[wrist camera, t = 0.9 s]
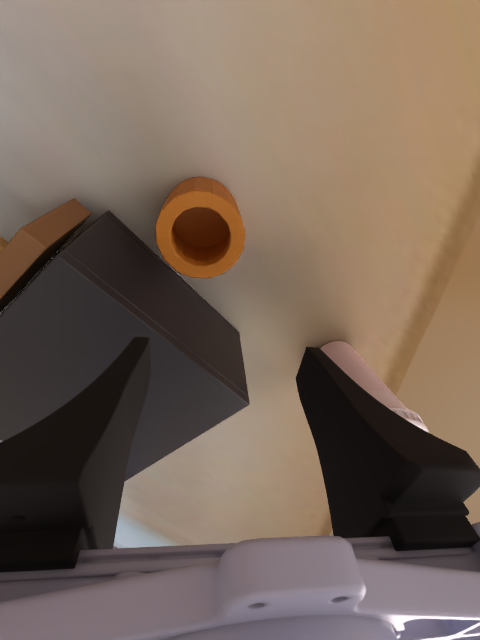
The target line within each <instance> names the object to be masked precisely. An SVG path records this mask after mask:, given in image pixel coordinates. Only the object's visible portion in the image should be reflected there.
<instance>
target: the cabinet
mask: <svg viewBox="0 0 480 640" xmlns="http://www.w3.org/2000/svg"><path fill="white" fill-rule="evenodd" d="M134 337H150V360H151V374H150V380H149V385H148V391H147V395H146V398H145V402H144V405H143V408H142V412H141V415H140V418H139V422H138V425H137V428H136V431H135V435H134V438H133V442H132V446H131V450H130V455H129V460H128V465H127V470H126V476H125V481H126V480H128V479H129V478H131V477H133V476H134V475H136V474H137V473H139V472H141V471H142V470H144V469H146V468H147V467H149V466H150V465H152V464H154V463H155V462H157V461H159V460H160V459H162V458H163V457H165V456H167V455H168V454H170V453H172V452H173V451H175V450H176V449H178V448H180V447H181V446H183V445H185V444H186V443H188V442H189V441H191V440H193V439H194V438H196V437H198V436H199V435H201V434H202V433H204V432H206V431H207V430H209V429H211V428H212V427H214V426H215V425H217V424H219V423H220V422H222V421H224V420H225V419H227V418H228V417H230V416H232V415H233V414H235V413H237V412H238V411H240V410H241V409H243V408H245V407H246V406H248V405H249V397H248V390H247V384H246V377H245V370H244V363H243V356H242V349H241V343H240V335H239V332H238V331H237V330H236V329H235V328H234V327H233V326H232V325H231V324H229V323H228V322H227V321H226V320H225V319H224V318H223V317H222V316H221V315H220V314H219V313H218V312H217V311H216V310H215V309H213V308H212V307H211V306H210V305H209V304H208V303H207V302H206V301H205V300H204V299H203V298H202V297H201V296H200V295H199V294H197V293H196V292H195V291H194V290H193V289H192V288H191V287H190V286H189V285H188V284H187V283H186V282H185V281H184V280H183V279H181V278H180V277H179V276H178V275H177V274H176V273H175V272H174V271H173V270H172V269H171V268H170V267H169V266H168V265H167V264H165V263H164V262H163V261H162V260H161V259H160V258H159V257H158V256H157V255H156V254H155V253H154V252H153V251H152V250H151V249H149V248H148V247H147V246H146V245H145V244H144V243H143V242H142V241H141V240H140V239H139V238H138V237H137V236H136V235H135V234H133V233H132V232H131V231H130V230H129V229H128V228H127V227H126V226H125V225H124V224H123V223H122V222H121V221H120V220H119V219H117V218H116V217H115V216H114V215H113V214H112V213H111V212H110V211H107V212H106V213H105V214H104V215H103V216H101V217H100V218H99V219H98V220H97V221H96V222H95V223H93V224H92V225H91V226H90V227H89V228H88V229H87V230H85V231H84V232H83V233H82V234H81V235H80V236H78V237H77V238H76V239H75V240H74V241H73V242H72V243H70V244H69V245H68V246H67V247H66V248H65V249H64V250H63V251H61V252H60V253H59V254H58V255H57V256H56V257H55V258H54V259H53V260H52V261H51V262H50V263H49V264H48V265H47V266H46V267H45V269H44V270H43V271H42V272H41V273H40V274H39V275H38V276H37V277H36V278H35V279H34V280H33V281H32V282H31V284H30V285H29V286H28V287H27V288H26V289H25V290H24V291H23V292H22V293H21V294H20V295H19V296H18V297H17V298H16V300H15V301H14V302H13V303H12V304H11V305H10V306H9V307H8V308H7V309H6V310H5V311H4V312H3V313H2V315H1V316H0V440H2V441H5V440H6V439H8V438H10V437H12V436H14V435H16V434H18V433H20V432H22V431H23V430H25V429H27V428H29V427H30V426H32V425H34V424H36V423H37V422H39V421H40V420H42V419H44V418H45V417H47V416H49V415H50V414H52V413H53V412H55V411H56V410H57V409H59V408H60V407H62V406H63V405H64V404H66V403H67V402H69V401H70V400H71V399H73V398H74V397H75V396H76V395H78V394H79V393H80V392H81V391H83V390H84V389H85V388H86V387H87V386H89V385H90V384H91V383H92V382H93V381H94V380H95V379H96V378H97V377H98V376H99V375H100V374H102V373H103V372H104V371H105V370H106V369H107V368H108V367H109V366H110V365H111V363H112V362H113V361H114V360H115V359H116V358H117V357H118V356H119V355H120V354H121V353H122V351H123V350H124V349H125V348H126V347H127V345H128V344H129V343H130V342H131V340H132V339H133V338H134Z"/></svg>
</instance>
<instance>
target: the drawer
mask: <svg viewBox="0 0 480 640" xmlns="http://www.w3.org/2000/svg"><path fill="white" fill-rule="evenodd" d="M90 215H91V213H90V212H89V211H88V210H87V209H86V208H85V207H84V206H83V205H82V204H80V203H79V202H78V201H77V200H76V199H75V198H74V199H72V200H70V201H69V202H67V203H65V204H63V205H62V206H60V207H58V208H56V209H54V210H53V211H51V212H49V213H47V214H45V215H44V216H42V217H40V218H38V219H37V220H35V221H33V222H31V223H29V224H28V225H26V226H24V227H22V228H21V229H20V230H19V231H18V232H17V233H16V234H15V236H14V237H13V238H12V239H11V240H10V241H9V243H8V242H7V241H6V240H4V239H3V238H2V237H0V312H1V311H2V310H3V309H4V307H5V306H6V305H7V304H8V303H9V302H10V301H11V300H12V299H13V298H14V297H15V296H16V295H17V293H18V292H19V291H20V290H21V289H22V288H23V287H24V286H25V285H26V284H27V283H28V282H29V281H30V279H31V278H32V277H33V276H34V275H35V274H36V273H37V272H38V271H39V270H40V269H41V268H42V267H43V265H44V264H45V263H46V262H47V261H48V260H49V259H50V258H51V257H52V256H53V255H54V254H55V253H56V251H57V250H58V249H59V248H60V247H61V246H62V245H63V244H64V243H65V242H66V241H67V240H68V239H69V237H70V236H71V235H72V234H73V233H74V232H75V231H76V230H77V229H78V228H79V227H80V226H81V225H82V223H83V222H84V221H85V220H86V219H87V218H88V217H89V216H90Z"/></svg>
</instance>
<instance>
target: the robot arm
mask: <svg viewBox="0 0 480 640" xmlns="http://www.w3.org/2000/svg"><path fill="white" fill-rule="evenodd" d="M150 374H151V360H150V337H134V338H133V339H132V340H131V342H130V343H129V344H128V345H127V347H126V348H125V349H124V350H123V351H122V353H121V354H120V355H119V356H118V357H117V358H116V359H115V360H114V361H113V362H112V363H111V365H110V366H109V367H108V368H107V369H106V370H105V371H104V372H103V373H102V374H100V375H99V376H98V377H97V378H96V379H95V380H94V381H93V382H92V383H91V384H90V385H89V386H87V387H86V388H85V389H84V390H83V391H81V392H80V393H79V394H78V395H76V396H75V397H74V398H73V399H71V400H70V401H69V402H67V403H66V404H64V405H63V406H62V407H60V408H59V409H57V410H56V411H55V412H53V413H52V414H50V415H49V416H47V417H45V418H44V419H42V420H40V421H39V422H37V423H36V424H34V425H32V426H30V427H29V428H27V429H25V430H23V431H22V432H20V433H18V434H16V435H14V436H12V437H10V438H8V439H6V440H5V441H3V442H1V443H0V640H480V522H478V523H475V524H472V525H471V524H470V522H469V521H468V519H467V518H466V515H468V514H469V511H468V509H467V508H466V506H465V505H464V503H463V502H464V501H465V500H466V499H467V498H468V497H469V496H470V495H472V494H473V493H474V492H475V491H476V490H477V489H478V488H479V487H480V469H479V467H478V466H477V465H476V463H475V462H474V461H473V459H472V458H471V457H470V456H469V454H468V453H467V452H466V451H464V450H462V449H460V448H458V447H456V446H454V445H452V444H450V443H448V442H446V441H443V440H441V439H439V438H437V437H435V436H433V435H432V434H430V433H428V432H426V431H424V430H423V429H421V428H419V427H417V426H416V425H414V424H412V423H410V422H409V421H407V420H406V419H404V418H403V417H401V416H399V415H398V414H396V413H395V412H393V411H392V410H390V409H389V408H387V407H386V406H385V405H383V404H382V403H381V402H379V401H378V400H377V399H375V398H374V397H373V396H371V395H370V394H369V393H368V392H366V391H365V390H364V389H363V388H362V387H360V386H359V385H358V384H357V383H356V382H355V381H354V380H352V379H351V378H350V377H349V376H348V375H347V374H346V373H345V372H344V371H343V370H342V369H341V368H340V367H339V366H338V365H337V364H335V363H334V362H333V361H332V360H331V359H330V358H329V357H328V356H327V355H326V354H325V353H324V352H323V351H322V350H321V349H320V348H315V347H306V350H305V353H304V356H303V359H302V362H301V365H300V368H299V370H298V373H297V376H296V382H297V388H298V392H299V397H300V400H301V403H302V406H303V409H304V412H305V415H306V418H307V421H308V424H309V427H310V429H311V432H312V435H313V438H314V441H315V444H316V448H317V451H318V456H319V460H320V464H321V468H322V473H323V478H324V483H325V488H326V493H327V498H328V504H329V509H330V515H331V521H332V528H333V535H334V536H328V535H327V536H304V537H281V538H258V539H252V540H245V541H241V542H239V543H230V544H208V545H186V546H164V547H142V548H119V549H118V548H117V547H114V546H113V544H114V538H115V532H116V526H117V520H118V514H119V509H120V503H121V497H122V492H123V486H124V481H125V476H126V470H127V465H128V460H129V455H130V450H131V446H132V442H133V438H134V435H135V431H136V428H137V425H138V422H139V418H140V415H141V412H142V408H143V405H144V402H145V398H146V395H147V391H148V385H149V380H150Z"/></svg>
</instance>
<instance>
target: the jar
mask: <svg viewBox="0 0 480 640" xmlns="http://www.w3.org/2000/svg"><path fill="white" fill-rule="evenodd" d="M155 231H156V243H157V246H158V248H159V250H160V252H161V254H162V256H163V258H165V261H166V262H167V263H168V264H170V265H171V266H172V267H173V268H174V269H175V270H177V272H180V273H182V274H184V275H187V276H189V277H195V278H211V277H214V276H217V275H220V274H223V273H224V272H226V271H227V270H228V269H229V268H231V267H232V266H233V265H234V264H235V263H236V262H237V260H238V258H239V256H240V255H241V253H242V251H243V248H244V240H245V229H244V226H243V223H242V219H241V216H240V213H239V210H238V207H237V204H236V201H235V199H234V197H233V196H232V194H231V193H230V192H229V190H228V189H227V188H226V187H225V186H223V185H222V184H221V183H219V182H218V181H216V180H213V179H210V178H206V177H194V178H190V179H187V180H185V181H183V182H181V183H180V184H179V185H177V186H176V187H175V188H174V190H173V191H172V192H171V193H170V194H169V196H168V198H167V200H166V202H165V204H164V206H163V207H162V209H161V212H160V214H159V217H158V219H157V222H156V227H155Z"/></svg>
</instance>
